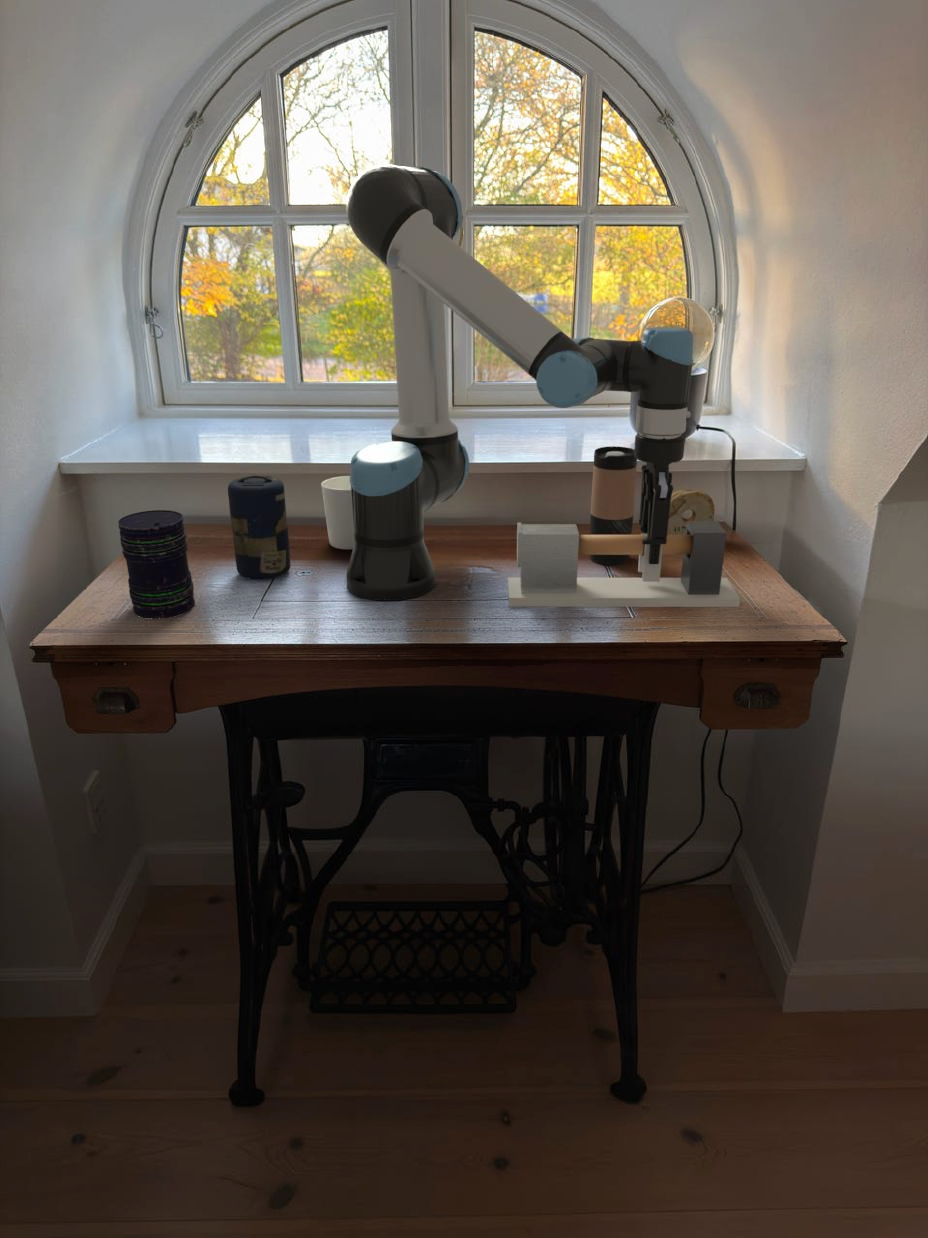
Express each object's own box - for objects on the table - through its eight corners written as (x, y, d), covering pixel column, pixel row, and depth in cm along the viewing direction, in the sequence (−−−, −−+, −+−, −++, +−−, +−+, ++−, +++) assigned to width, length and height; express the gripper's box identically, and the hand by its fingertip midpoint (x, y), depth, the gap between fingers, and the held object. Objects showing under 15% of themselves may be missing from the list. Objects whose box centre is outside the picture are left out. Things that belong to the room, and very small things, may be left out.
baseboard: (508, 606, 144) (508, 597, 143) (507, 585, 152) (507, 577, 151) (739, 606, 143) (740, 598, 142) (725, 585, 151) (726, 577, 150)
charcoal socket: (688, 594, 144) (694, 532, 140) (680, 580, 149) (686, 521, 145) (719, 594, 144) (726, 532, 139) (710, 581, 149) (717, 521, 145)
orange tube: (571, 558, 143) (571, 537, 142) (569, 551, 146) (570, 530, 145) (708, 558, 143) (711, 537, 141) (703, 551, 146) (705, 530, 144)
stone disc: (706, 535, 176) (711, 485, 172) (713, 541, 172) (719, 491, 168) (655, 537, 175) (659, 487, 171) (661, 543, 171) (665, 493, 167)
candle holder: (378, 549, 170) (375, 488, 165) (326, 552, 168) (321, 490, 163) (374, 533, 178) (371, 474, 174) (325, 536, 177) (320, 477, 172)
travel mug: (628, 552, 167) (636, 446, 159) (631, 566, 160) (639, 456, 152) (587, 551, 168) (593, 445, 160) (588, 565, 161) (594, 455, 153)
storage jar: (124, 604, 146) (108, 517, 140) (183, 591, 151) (170, 506, 145) (144, 624, 138) (128, 533, 132) (205, 609, 144) (192, 521, 138)
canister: (251, 563, 163) (240, 466, 156) (300, 566, 161) (291, 469, 154) (228, 581, 155) (215, 480, 147) (279, 585, 153) (269, 483, 146)
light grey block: (517, 593, 145) (518, 532, 141) (516, 581, 150) (517, 522, 145) (576, 593, 145) (579, 532, 140) (573, 581, 149) (576, 522, 145)
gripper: (696, 445, 129) (681, 595, 138) (674, 422, 144) (662, 558, 153) (644, 445, 129) (633, 595, 138) (627, 422, 144) (618, 558, 154)
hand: (648, 575), depth 146 cm, fingers closed on orange tube, 4 cm apart
